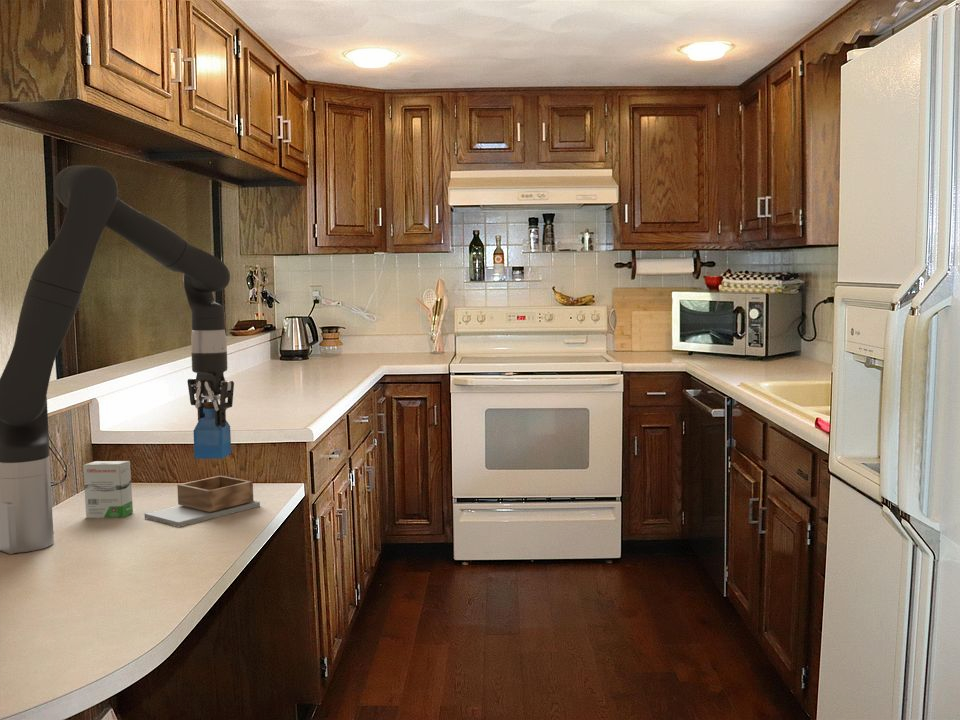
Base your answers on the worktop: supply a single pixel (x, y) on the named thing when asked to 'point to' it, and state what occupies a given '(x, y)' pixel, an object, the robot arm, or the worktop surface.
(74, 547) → the worktop surface
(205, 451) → the perfume bottle
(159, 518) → the backstop board
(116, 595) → the worktop surface
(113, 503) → the ink box
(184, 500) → the box
